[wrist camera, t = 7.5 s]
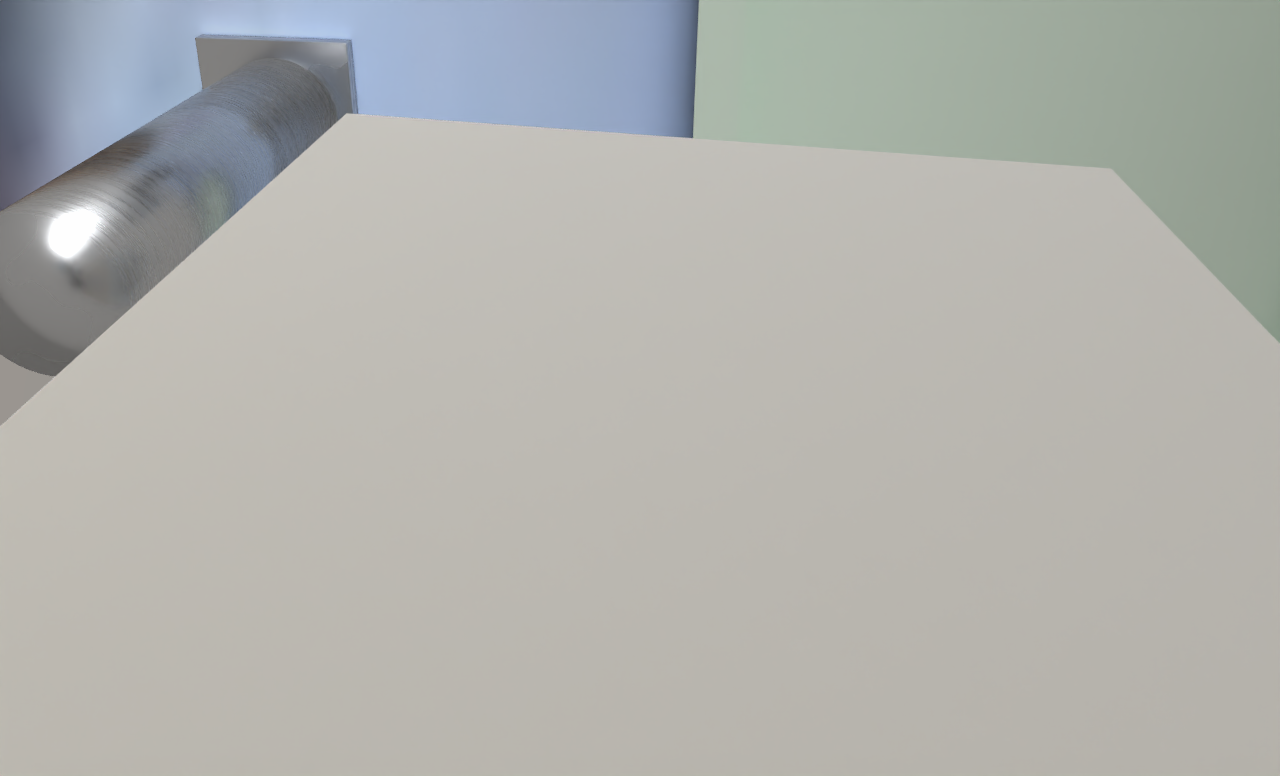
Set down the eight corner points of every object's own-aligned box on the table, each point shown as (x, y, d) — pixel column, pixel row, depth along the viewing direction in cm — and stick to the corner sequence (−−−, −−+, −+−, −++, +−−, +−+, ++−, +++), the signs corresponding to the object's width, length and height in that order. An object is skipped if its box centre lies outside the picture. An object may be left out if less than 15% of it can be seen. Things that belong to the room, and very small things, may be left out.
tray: (710, -251, 24) (709, -253, 23) (1500, -232, 24) (1563, -233, 22) (681, 418, 32) (679, 456, 30) (1282, 448, 31) (1315, 488, 29)
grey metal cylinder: (201, 34, 28) (-99, 182, 18) (351, 39, 28) (135, 192, 17) (223, 181, 29) (-40, 393, 19) (364, 186, 29) (174, 403, 19)
